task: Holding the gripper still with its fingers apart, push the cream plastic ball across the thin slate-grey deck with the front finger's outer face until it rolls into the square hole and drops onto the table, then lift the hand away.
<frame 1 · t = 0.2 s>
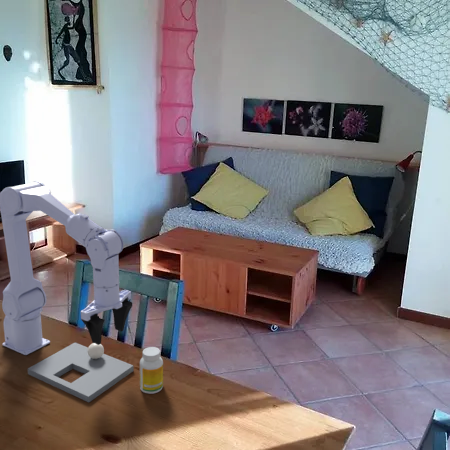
hand: (108, 336, 120), 10 cm above the table, tool pointing down, fingers open, 7 cm apart
ball: (95, 350, 126), point 3 cm above the table, touching deck
deck: (81, 372, 123), on the table
supplement bottle: (151, 388, 118), on the table
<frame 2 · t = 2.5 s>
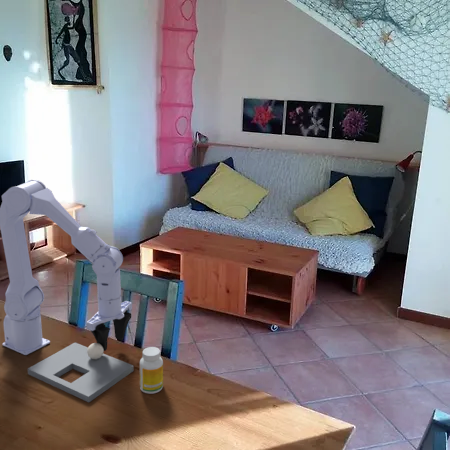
hand: (111, 344, 131), 3 cm above the table, tool pointing down, fingers open, 6 cm apart
ball: (95, 351, 126), point 3 cm above the table, touching deck, gripper
everything else where it was.
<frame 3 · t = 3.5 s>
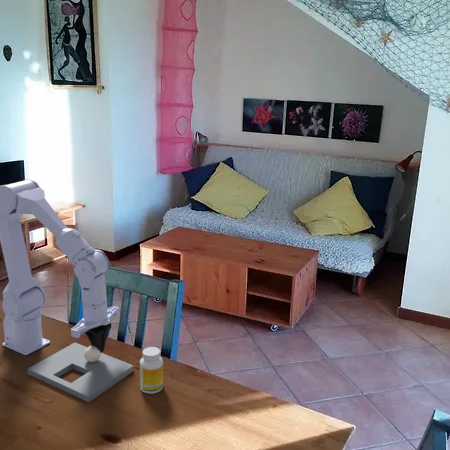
hand: (98, 351, 126), 4 cm above the table, tool pointing down, fingers closed, pressing on ball
ball: (92, 354, 125), point 3 cm above the table, tilted 43°, touching deck, gripper
everything else where it was.
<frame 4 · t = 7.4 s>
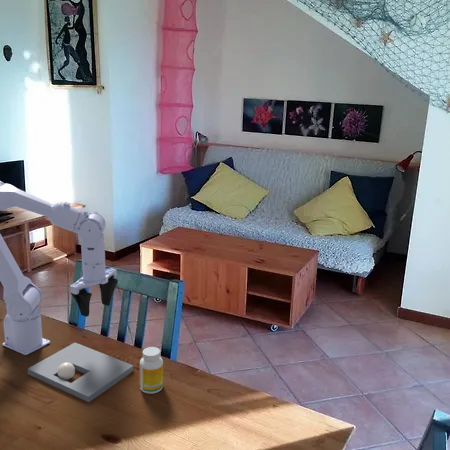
hand: (95, 309, 132), 10 cm above the table, tool pointing down, fingers open, 7 cm apart
ball: (66, 371, 120), point 2 cm above the table, tilted 92°
everything else where it was.
at the end: ball 1.3 cm from the target spot on the deck, point 2.0 cm above the deck's base; the gripper is holding nothing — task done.
